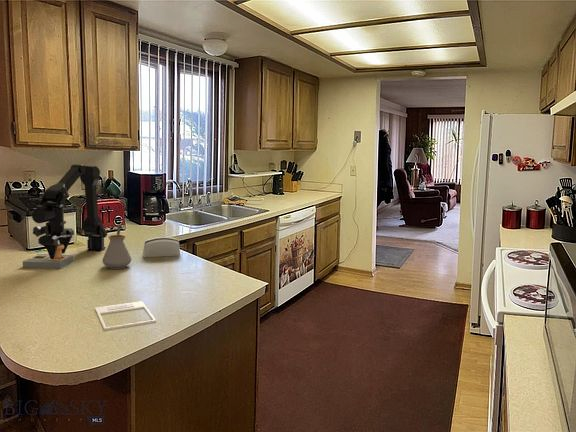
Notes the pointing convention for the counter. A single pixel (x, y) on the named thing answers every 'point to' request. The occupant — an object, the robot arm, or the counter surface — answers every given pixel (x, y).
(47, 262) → the block
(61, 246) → the jaw orange
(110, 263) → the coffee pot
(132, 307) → the photo frame
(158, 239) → the grey arched block
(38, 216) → the robot arm
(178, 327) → the counter surface
